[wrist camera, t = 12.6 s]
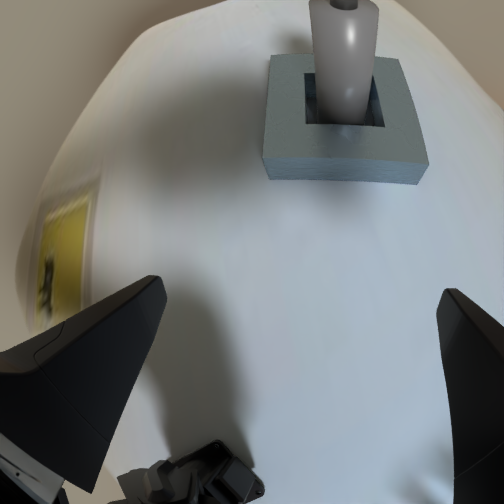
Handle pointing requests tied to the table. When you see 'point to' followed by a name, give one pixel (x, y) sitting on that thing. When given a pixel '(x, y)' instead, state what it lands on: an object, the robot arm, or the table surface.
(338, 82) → the plug
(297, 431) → the table surface
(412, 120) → the grey square frame
